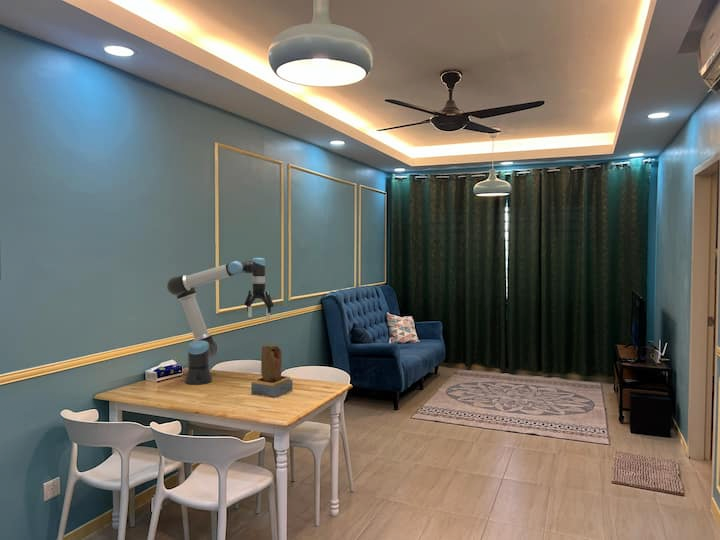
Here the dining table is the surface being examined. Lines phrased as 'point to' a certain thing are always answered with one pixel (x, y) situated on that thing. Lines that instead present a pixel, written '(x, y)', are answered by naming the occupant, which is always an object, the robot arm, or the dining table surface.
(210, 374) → the robot arm
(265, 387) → the grey square tray
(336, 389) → the dining table surface
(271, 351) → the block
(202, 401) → the dining table surface
